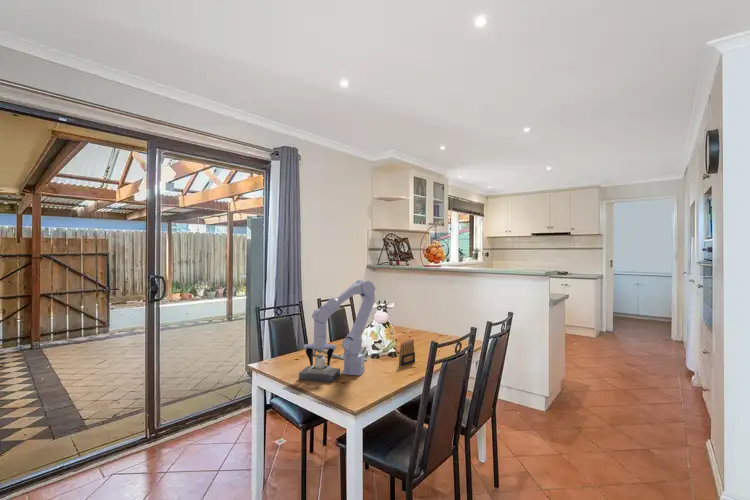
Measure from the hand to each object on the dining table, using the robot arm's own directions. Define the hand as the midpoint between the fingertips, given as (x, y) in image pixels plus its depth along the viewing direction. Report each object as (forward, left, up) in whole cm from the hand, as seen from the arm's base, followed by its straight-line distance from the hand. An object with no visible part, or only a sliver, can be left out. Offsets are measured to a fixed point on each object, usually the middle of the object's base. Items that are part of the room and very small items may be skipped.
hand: (320, 365), depth 162 cm
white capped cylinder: (0, 0, -2) cm, 2 cm away
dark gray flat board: (0, 0, -5) cm, 5 cm away
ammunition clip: (-36, -30, -6) cm, 47 cm away
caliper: (+9, -33, -6) cm, 35 cm away
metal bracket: (-7, -35, -6) cm, 36 cm away
